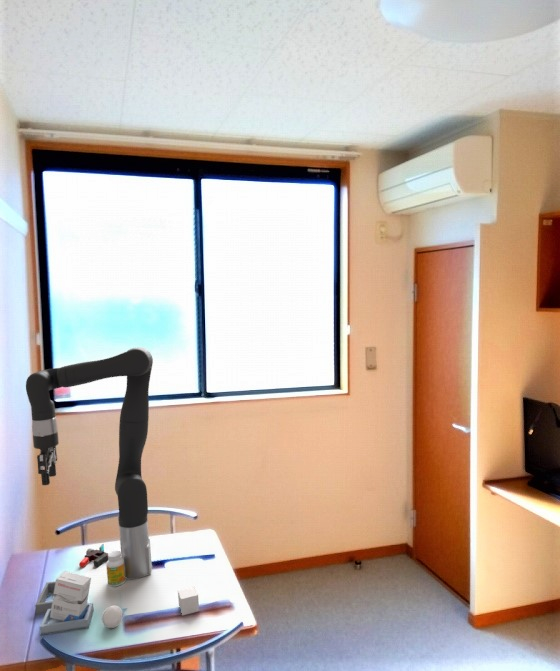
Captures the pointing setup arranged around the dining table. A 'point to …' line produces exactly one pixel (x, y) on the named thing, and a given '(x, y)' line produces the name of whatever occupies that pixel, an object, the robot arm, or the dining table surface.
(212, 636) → the dining table surface
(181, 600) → the white cube
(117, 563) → the supplement bottle
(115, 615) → the white ball
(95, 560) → the toy gun
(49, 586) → the cradle
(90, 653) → the dining table surface
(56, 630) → the tray
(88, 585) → the ink box
